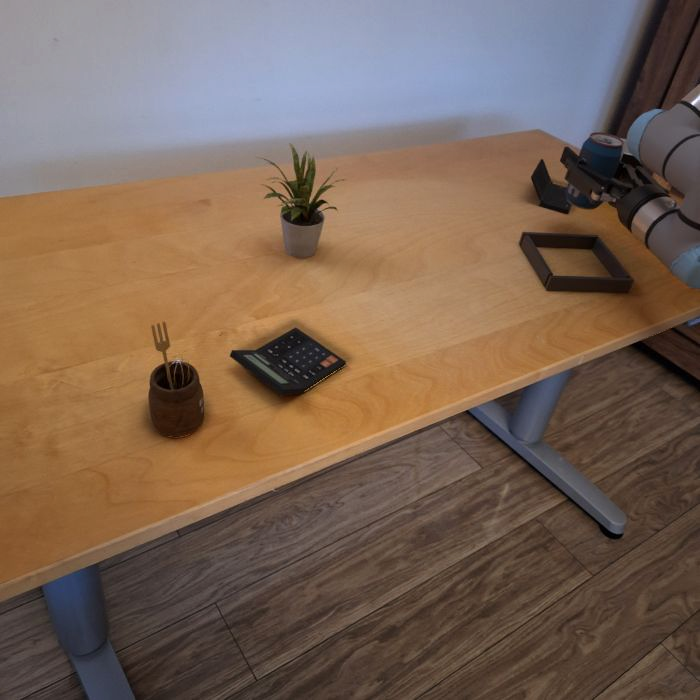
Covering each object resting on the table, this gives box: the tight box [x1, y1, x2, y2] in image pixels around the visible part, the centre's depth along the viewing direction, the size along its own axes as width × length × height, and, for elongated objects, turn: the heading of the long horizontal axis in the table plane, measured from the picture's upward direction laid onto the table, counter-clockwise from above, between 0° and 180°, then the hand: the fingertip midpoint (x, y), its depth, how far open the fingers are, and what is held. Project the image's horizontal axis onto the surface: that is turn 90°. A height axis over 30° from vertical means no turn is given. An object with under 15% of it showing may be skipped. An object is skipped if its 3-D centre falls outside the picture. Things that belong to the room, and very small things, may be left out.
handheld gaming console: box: [530, 158, 572, 215], centre depth 127 cm, size 12×7×10 cm
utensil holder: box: [147, 320, 205, 438], centre depth 67 cm, size 6×6×12 cm
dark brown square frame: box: [518, 231, 635, 294], centre depth 107 cm, size 15×15×2 cm
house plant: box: [256, 143, 348, 259], centre depth 97 cm, size 14×14×16 cm
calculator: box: [229, 327, 347, 397], centre depth 79 cm, size 9×12×3 cm
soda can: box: [566, 131, 624, 211], centre depth 110 cm, size 7×7×12 cm
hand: (582, 154), depth 113 cm, fingers closed on soda can, 7 cm apart
